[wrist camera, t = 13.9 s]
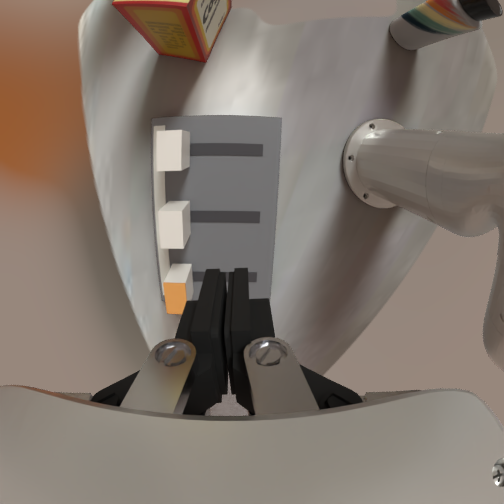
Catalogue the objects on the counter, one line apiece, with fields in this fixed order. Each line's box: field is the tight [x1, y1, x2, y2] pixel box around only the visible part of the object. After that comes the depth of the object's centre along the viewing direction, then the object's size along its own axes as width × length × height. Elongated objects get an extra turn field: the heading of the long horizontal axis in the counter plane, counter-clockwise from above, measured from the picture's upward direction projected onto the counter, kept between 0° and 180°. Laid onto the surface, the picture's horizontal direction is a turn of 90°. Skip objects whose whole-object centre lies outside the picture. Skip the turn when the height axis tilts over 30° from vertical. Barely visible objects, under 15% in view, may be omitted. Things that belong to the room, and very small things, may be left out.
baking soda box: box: [112, 0, 231, 63], centre depth 17 cm, size 10×6×16 cm
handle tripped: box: [163, 264, 193, 314], centre depth 32 cm, size 2×4×5 cm, turn 178°
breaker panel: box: [151, 115, 282, 302], centre depth 33 cm, size 15×24×3 cm, turn 178°
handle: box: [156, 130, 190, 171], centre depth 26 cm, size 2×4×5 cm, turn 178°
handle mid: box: [158, 201, 191, 249], centre depth 29 cm, size 2×4×5 cm, turn 178°
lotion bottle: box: [390, 0, 502, 50], centre depth 16 cm, size 6×6×20 cm
